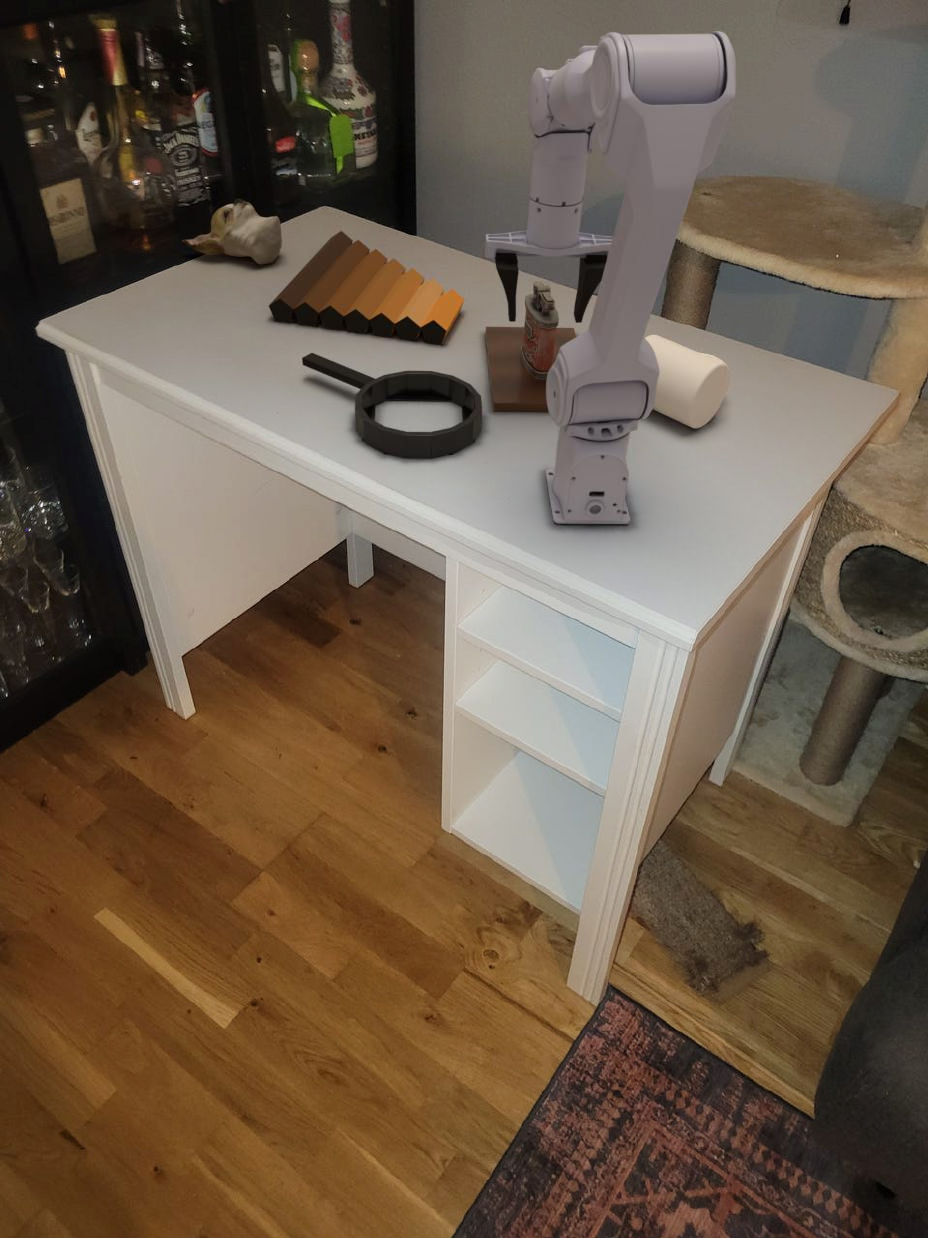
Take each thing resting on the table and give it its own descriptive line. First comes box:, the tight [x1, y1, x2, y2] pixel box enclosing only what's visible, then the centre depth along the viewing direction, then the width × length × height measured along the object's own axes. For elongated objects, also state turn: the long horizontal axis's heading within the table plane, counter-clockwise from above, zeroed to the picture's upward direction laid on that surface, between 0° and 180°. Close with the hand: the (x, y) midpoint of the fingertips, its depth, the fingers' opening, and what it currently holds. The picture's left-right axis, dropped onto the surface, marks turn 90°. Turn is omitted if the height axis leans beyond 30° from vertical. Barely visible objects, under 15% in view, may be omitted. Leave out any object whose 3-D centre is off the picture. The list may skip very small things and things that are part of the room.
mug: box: [643, 334, 731, 429], centre depth 115 cm, size 12×10×8 cm
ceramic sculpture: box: [182, 198, 283, 265], centre depth 143 cm, size 11×9×15 cm
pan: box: [301, 352, 483, 459], centre depth 112 cm, size 19×22×3 cm
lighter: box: [521, 280, 560, 379], centre depth 118 cm, size 8×3×10 cm, turn 12°
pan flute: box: [268, 230, 465, 346], centre depth 136 cm, size 25×3×25 cm
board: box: [484, 326, 577, 413], centre depth 122 cm, size 20×12×1 cm, turn 2°
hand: (544, 318), depth 110 cm, fingers open, 7 cm apart
